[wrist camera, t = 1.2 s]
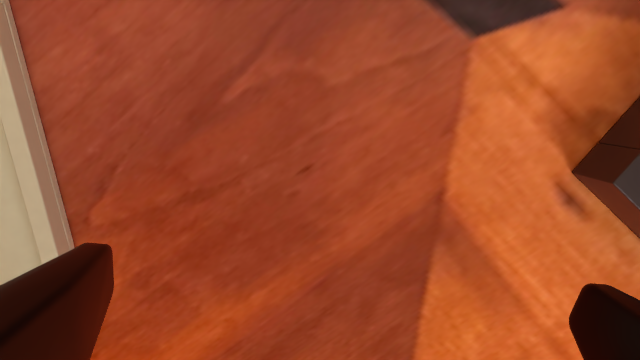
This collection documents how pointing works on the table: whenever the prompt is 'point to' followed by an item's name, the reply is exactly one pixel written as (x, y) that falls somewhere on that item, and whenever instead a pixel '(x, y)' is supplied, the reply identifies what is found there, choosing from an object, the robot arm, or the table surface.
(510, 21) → the table surface
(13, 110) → the tray
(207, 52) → the table surface
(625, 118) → the stand
